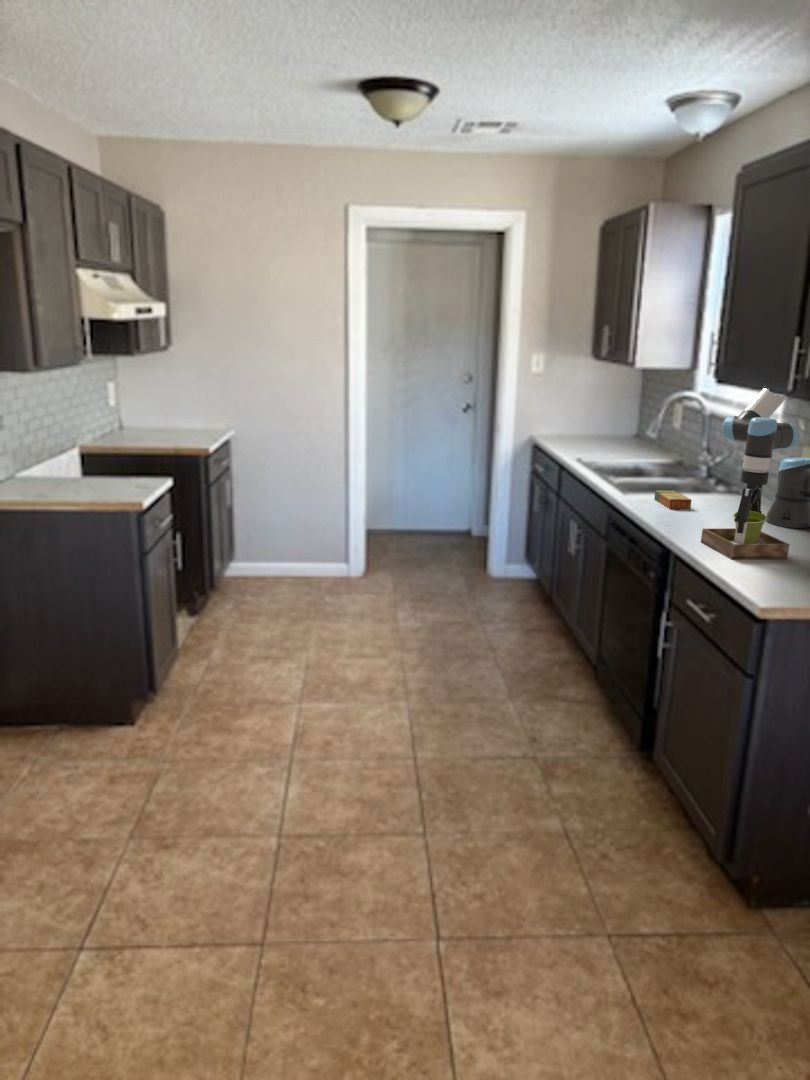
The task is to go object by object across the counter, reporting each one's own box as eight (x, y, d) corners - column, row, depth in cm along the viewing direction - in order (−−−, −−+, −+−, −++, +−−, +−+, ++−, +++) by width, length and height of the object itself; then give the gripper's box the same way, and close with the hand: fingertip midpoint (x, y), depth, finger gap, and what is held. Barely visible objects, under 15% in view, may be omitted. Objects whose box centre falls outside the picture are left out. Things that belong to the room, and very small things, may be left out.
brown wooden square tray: (752, 541, 263) (755, 528, 262) (787, 558, 246) (789, 544, 244) (700, 542, 260) (702, 528, 258) (731, 559, 243) (733, 544, 241)
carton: (668, 510, 303) (669, 498, 301) (653, 500, 318) (654, 489, 317) (690, 510, 303) (692, 499, 302) (674, 500, 319) (675, 489, 317)
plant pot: (733, 534, 261) (735, 508, 257) (765, 538, 257) (768, 512, 253) (728, 546, 253) (731, 520, 250) (761, 550, 249) (764, 524, 245)
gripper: (752, 462, 258) (742, 528, 264) (731, 473, 238) (720, 544, 244) (778, 466, 254) (767, 532, 259) (758, 477, 234) (747, 549, 240)
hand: (744, 538), depth 252 cm, fingers open, 13 cm apart
